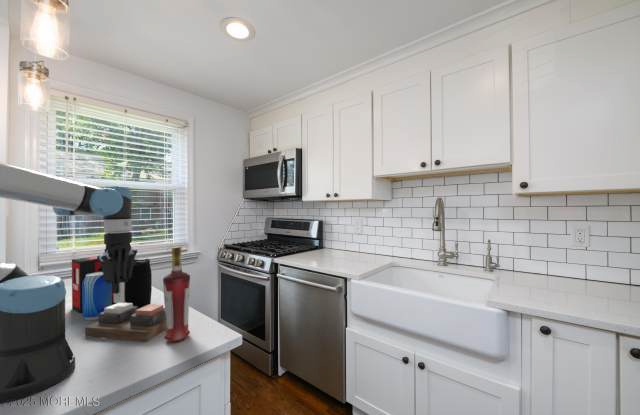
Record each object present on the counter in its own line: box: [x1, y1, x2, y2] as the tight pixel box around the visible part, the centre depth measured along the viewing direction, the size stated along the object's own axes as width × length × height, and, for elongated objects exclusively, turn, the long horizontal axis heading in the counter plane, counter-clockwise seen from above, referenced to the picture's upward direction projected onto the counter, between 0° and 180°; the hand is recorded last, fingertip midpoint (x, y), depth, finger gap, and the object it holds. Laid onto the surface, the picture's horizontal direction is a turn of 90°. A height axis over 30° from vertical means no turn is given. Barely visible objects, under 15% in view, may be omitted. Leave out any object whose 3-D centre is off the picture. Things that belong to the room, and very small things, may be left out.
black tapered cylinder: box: [124, 258, 153, 309], centre depth 107 cm, size 9×9×20 cm
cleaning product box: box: [71, 255, 125, 314], centre depth 113 cm, size 16×9×20 cm, turn 148°
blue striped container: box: [82, 272, 112, 321], centre depth 100 cm, size 8×8×16 cm
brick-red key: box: [136, 303, 164, 316], centre depth 88 cm, size 5×5×2 cm
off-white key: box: [104, 302, 133, 314], centre depth 90 cm, size 5×5×2 cm
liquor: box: [162, 246, 191, 343], centre depth 82 cm, size 7×7×28 cm
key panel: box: [84, 306, 166, 343], centre depth 89 cm, size 14×22×6 cm, turn 80°
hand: (119, 301), depth 90 cm, fingers closed
